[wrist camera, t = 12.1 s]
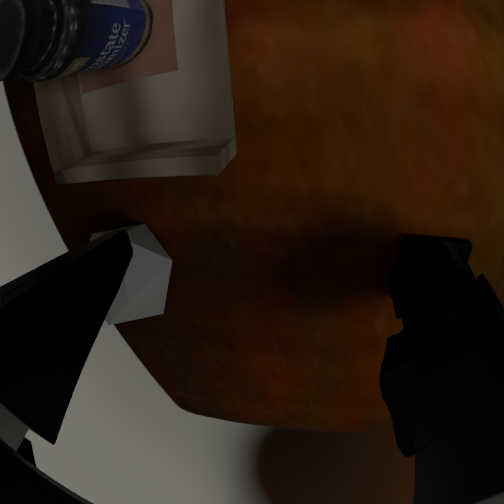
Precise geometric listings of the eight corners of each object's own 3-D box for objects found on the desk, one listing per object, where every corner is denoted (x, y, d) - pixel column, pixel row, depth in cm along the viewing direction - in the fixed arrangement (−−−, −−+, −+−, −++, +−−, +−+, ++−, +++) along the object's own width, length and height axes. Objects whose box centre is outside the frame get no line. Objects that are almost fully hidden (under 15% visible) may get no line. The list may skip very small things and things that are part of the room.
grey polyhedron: (99, 212, 27) (65, 303, 25) (114, 193, 21) (67, 316, 18) (167, 244, 32) (138, 329, 29) (203, 237, 25) (166, 349, 22)
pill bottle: (122, 81, 18) (3, 120, 9) (79, 41, 16) (-36, 64, 8) (173, 18, 15) (52, 7, 6) (122, -20, 13) (4, -33, 4)
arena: (220, -54, 12) (196, -75, 8) (237, 153, 21) (218, 174, 17) (64, 2, 14) (27, 3, 11) (88, 164, 24) (56, 184, 20)
